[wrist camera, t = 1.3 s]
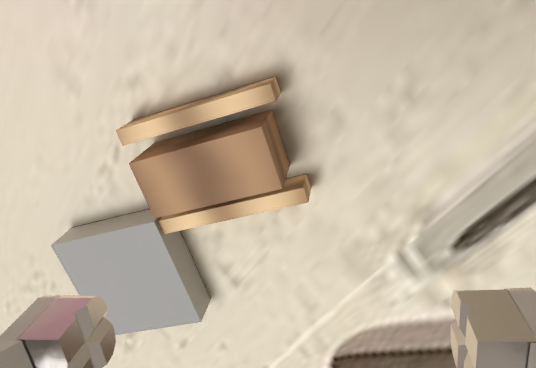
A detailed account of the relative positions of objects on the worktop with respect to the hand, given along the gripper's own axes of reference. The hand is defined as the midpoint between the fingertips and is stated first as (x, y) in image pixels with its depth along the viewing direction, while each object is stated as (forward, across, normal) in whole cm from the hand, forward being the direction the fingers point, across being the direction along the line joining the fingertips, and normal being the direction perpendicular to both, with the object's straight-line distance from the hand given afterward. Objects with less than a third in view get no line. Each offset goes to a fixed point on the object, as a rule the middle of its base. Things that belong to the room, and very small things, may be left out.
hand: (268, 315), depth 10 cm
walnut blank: (+23, +8, +4) cm, 25 cm away
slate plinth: (+24, +17, +13) cm, 32 cm away
